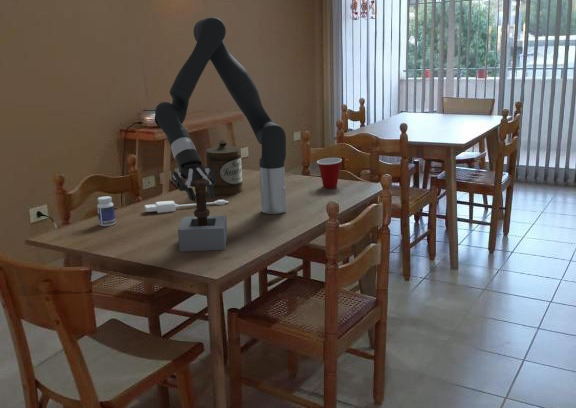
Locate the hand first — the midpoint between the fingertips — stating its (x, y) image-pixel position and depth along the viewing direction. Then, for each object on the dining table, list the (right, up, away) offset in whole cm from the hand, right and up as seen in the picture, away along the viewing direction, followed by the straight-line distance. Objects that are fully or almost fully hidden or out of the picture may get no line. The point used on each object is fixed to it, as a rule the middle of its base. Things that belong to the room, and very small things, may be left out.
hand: (203, 198), depth 188 cm
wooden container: (0, +4, +71) cm, 71 cm away
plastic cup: (+45, +5, +73) cm, 85 cm away
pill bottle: (-38, -9, +28) cm, 49 cm away
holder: (0, -14, +6) cm, 15 cm away
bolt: (-1, -9, +4) cm, 10 cm away
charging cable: (-13, -4, +46) cm, 48 cm away
